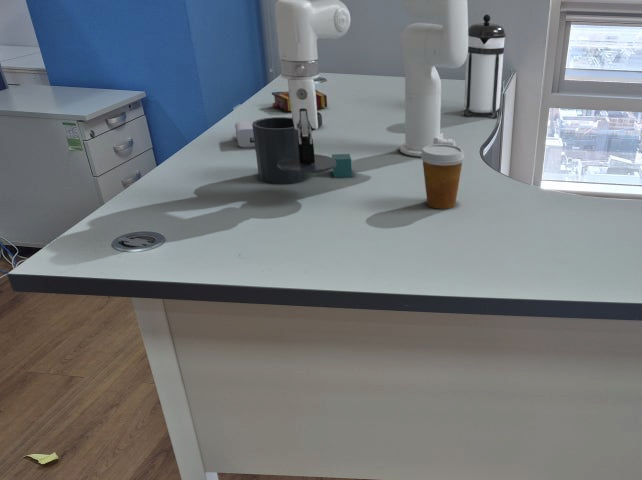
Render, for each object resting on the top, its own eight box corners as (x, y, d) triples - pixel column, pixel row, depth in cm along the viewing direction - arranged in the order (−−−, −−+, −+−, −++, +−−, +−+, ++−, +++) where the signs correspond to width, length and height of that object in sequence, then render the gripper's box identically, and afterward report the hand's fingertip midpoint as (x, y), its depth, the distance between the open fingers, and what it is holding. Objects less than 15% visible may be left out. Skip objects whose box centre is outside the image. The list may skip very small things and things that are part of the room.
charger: (268, 132, 192) (273, 145, 180) (235, 134, 189) (239, 147, 177) (266, 115, 189) (271, 128, 178) (233, 117, 187) (236, 129, 175)
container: (307, 168, 164) (303, 116, 157) (309, 183, 154) (304, 128, 148) (259, 170, 162) (253, 117, 155) (258, 184, 152) (251, 129, 145)
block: (350, 171, 163) (349, 153, 161) (352, 176, 160) (351, 158, 157) (332, 172, 162) (331, 154, 160) (333, 177, 159) (332, 159, 156)
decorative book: (328, 108, 220) (327, 93, 217) (282, 113, 212) (281, 97, 210) (314, 102, 228) (313, 87, 225) (269, 106, 220) (268, 90, 217)
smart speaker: (325, 124, 202) (324, 110, 200) (318, 131, 195) (317, 117, 193) (297, 122, 203) (296, 109, 201) (289, 129, 196) (287, 115, 193)
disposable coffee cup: (431, 214, 140) (432, 157, 134) (413, 200, 147) (413, 145, 140) (470, 208, 144) (473, 153, 137) (450, 194, 151) (452, 141, 144)
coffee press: (514, 116, 221) (523, 16, 204) (476, 120, 213) (482, 17, 196) (484, 105, 232) (489, 10, 216) (447, 110, 225) (449, 11, 208)
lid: (334, 158, 149) (333, 130, 145) (338, 175, 139) (336, 145, 135) (278, 160, 146) (275, 131, 143) (277, 177, 136) (274, 146, 133)
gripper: (320, 76, 126) (326, 171, 136) (316, 62, 139) (322, 150, 149) (280, 76, 124) (289, 172, 134) (280, 62, 138) (289, 150, 148)
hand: (307, 159), depth 142 cm, fingers closed on lid, 2 cm apart
